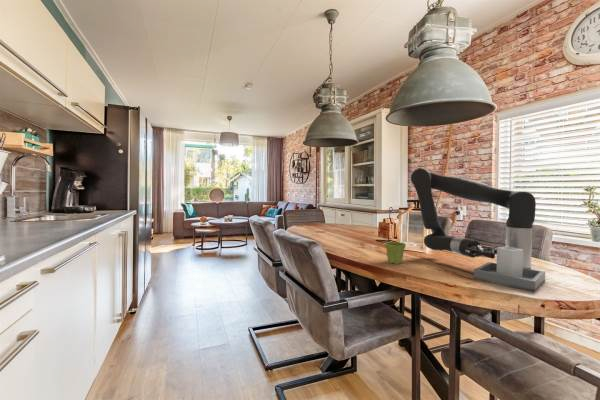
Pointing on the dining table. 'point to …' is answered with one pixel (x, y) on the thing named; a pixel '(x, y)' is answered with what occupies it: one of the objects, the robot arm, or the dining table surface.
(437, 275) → the dining table surface
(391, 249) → the plant pot
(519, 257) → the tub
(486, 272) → the tray
